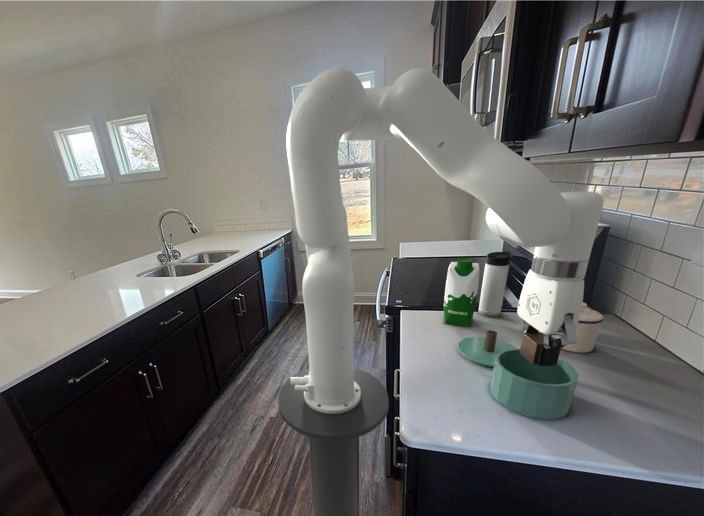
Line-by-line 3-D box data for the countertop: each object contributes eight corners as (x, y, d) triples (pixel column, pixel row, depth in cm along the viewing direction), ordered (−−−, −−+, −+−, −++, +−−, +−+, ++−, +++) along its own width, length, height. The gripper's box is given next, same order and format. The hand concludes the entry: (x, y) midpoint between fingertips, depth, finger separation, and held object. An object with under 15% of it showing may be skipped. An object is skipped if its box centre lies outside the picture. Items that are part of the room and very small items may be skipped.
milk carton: (441, 324, 98) (447, 261, 90) (443, 313, 105) (449, 254, 98) (473, 328, 94) (482, 263, 86) (473, 316, 101) (482, 255, 94)
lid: (471, 370, 75) (474, 347, 72) (449, 340, 88) (451, 321, 86) (535, 369, 74) (540, 346, 71) (502, 339, 87) (506, 319, 85)
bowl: (511, 420, 59) (518, 386, 57) (479, 377, 72) (484, 349, 69) (586, 419, 58) (597, 386, 55) (540, 377, 71) (547, 347, 68)
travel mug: (506, 315, 101) (517, 253, 94) (488, 318, 99) (498, 256, 92) (490, 308, 107) (500, 249, 99) (473, 311, 105) (482, 252, 98)
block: (532, 364, 60) (537, 344, 58) (519, 352, 64) (523, 333, 62) (557, 364, 59) (562, 343, 58) (542, 352, 63) (546, 332, 62)
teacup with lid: (603, 350, 79) (617, 307, 75) (572, 356, 77) (585, 312, 73) (559, 330, 90) (568, 291, 86) (531, 334, 88) (539, 295, 84)
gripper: (509, 256, 63) (495, 337, 70) (570, 283, 47) (545, 384, 54) (549, 254, 63) (531, 336, 69) (623, 280, 47) (592, 383, 53)
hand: (537, 356), depth 61 cm, fingers closed on block, 4 cm apart
